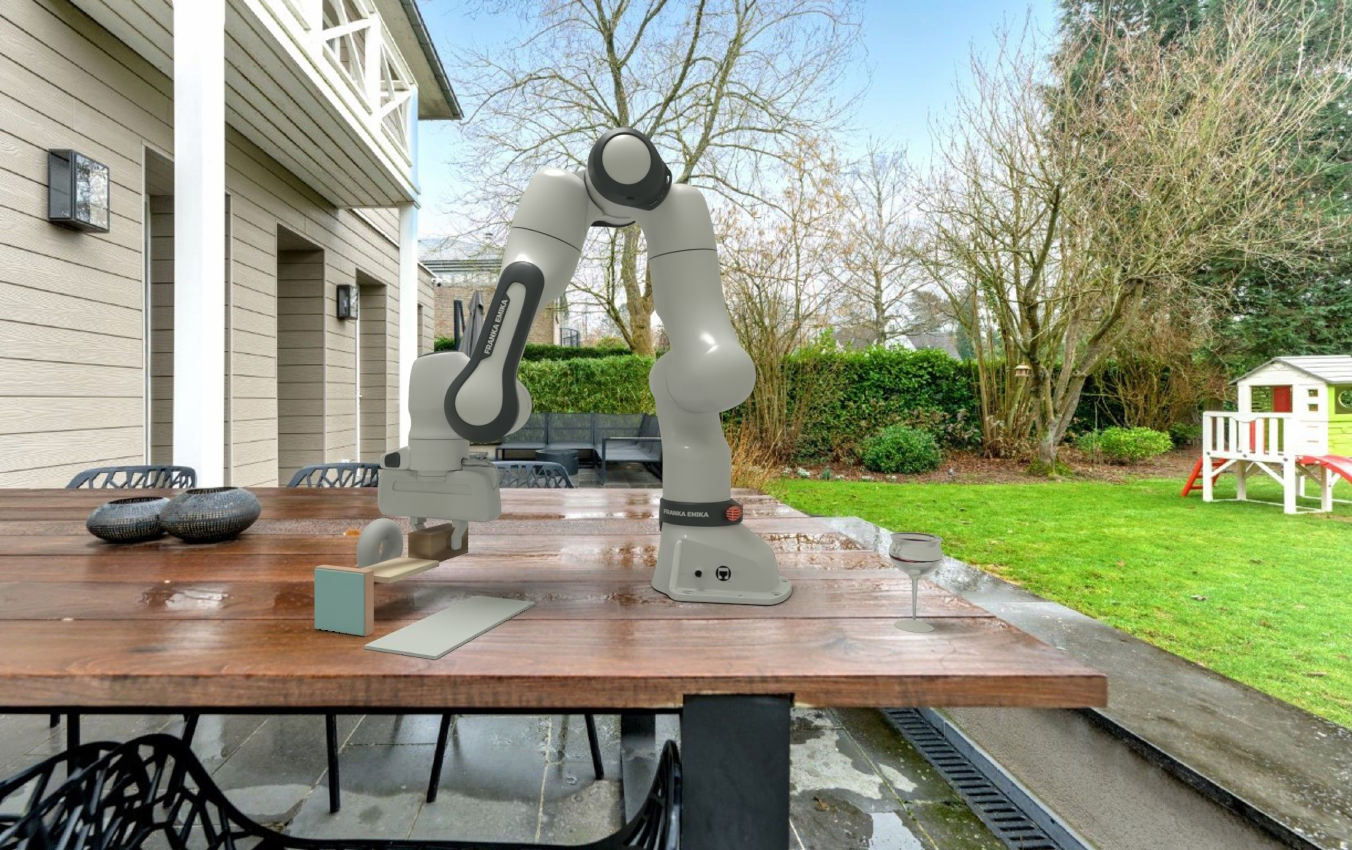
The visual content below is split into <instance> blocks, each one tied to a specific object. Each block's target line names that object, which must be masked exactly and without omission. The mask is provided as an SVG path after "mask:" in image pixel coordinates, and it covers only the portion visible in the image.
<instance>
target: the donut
mask: <svg viewBox="0 0 1352 850" xmlns="http://www.w3.org/2000/svg"><path fill="white" fill-rule="evenodd" d="M380 547H381V548H380ZM380 549H381V550H380ZM403 549H404V535H403V533H402V530H401V527H400V526H399V525H398V524H397V522H395V521H393V520H392V519H390V518H388V517H387V518H385V517H384V518H377V519H375V520H373V521H371V522H369V523H368V524H367V526H365V528H364V529H363V530H362V532H361V533H360V535H359V537H358V541H357V545H356V549H355V550H356V552H355V557H356V563H357V566H358V568H359V569H361V568H364V567H368V566H371V565H374V564H378V563H381V562H384V561H388V560H391V559H394V558H398V557H402V554H403V552H404V551H403Z"/></svg>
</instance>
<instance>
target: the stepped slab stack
mask: <svg viewBox="0 0 1352 850" xmlns="http://www.w3.org/2000/svg"><path fill="white" fill-rule="evenodd" d="M454 530H455V527H452V522H451V523H450V522H446V523H442V524H438V525H434V526H430V527H425V529H421V530H417V531H410V532H407V557H404V556H401V557H398V558H394V559H391V560H388V561H384V562H381V563H378V564H374V565H371V566H368V567H364V568H361V569H368V570H374V583H383V584H393V583H395V582H398V581H400V580H403V579H407V578H409V577H413V576H415V575H418V574H421V573H425V572H426V571H429V570H433V569H435V568H438V567H440V563H443V562H445V561H447V560H452V559H454V558H457V557H460V556H463V555H465V554H468V553H469V526H468V527H467V529H466V531H465V532H464V534H463V536H462V540H461V548H460V549H456V550H453V549H447V548H446V545H447V543H446V538H448V537H451V536H452V534H453V532H454Z"/></svg>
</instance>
